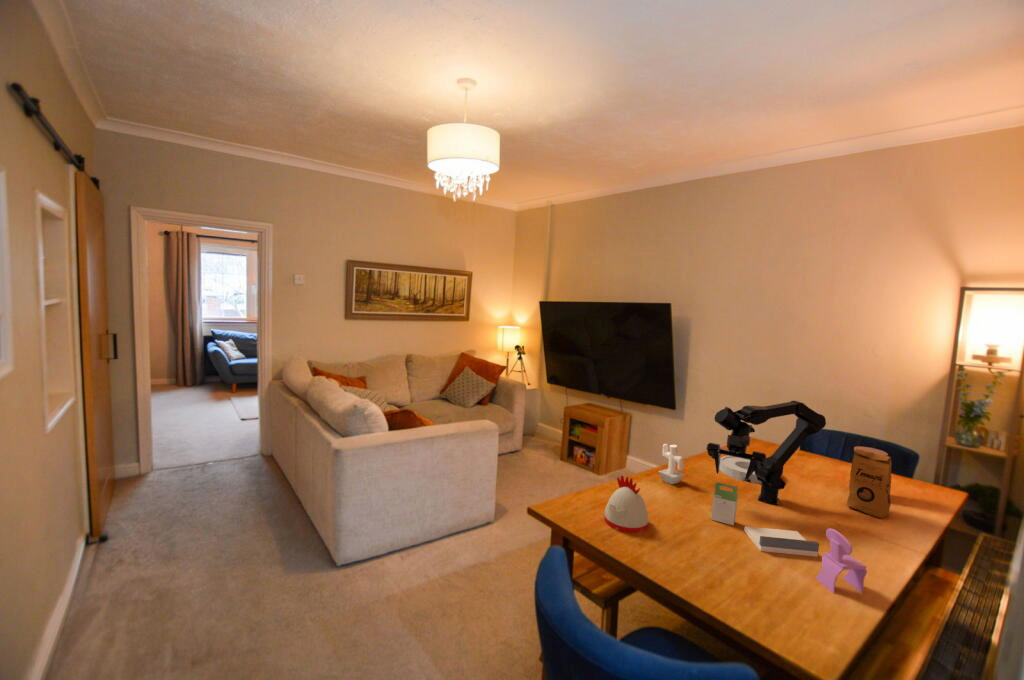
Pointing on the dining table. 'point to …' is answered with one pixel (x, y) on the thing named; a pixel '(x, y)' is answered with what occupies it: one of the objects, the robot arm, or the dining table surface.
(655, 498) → the dining table surface
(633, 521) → the kitchen timer
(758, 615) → the dining table surface
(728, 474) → the ashtray
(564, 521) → the dining table surface
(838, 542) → the toy chair
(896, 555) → the dining table surface
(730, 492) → the ink box
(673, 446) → the figurine
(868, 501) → the coffee package
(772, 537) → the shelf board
